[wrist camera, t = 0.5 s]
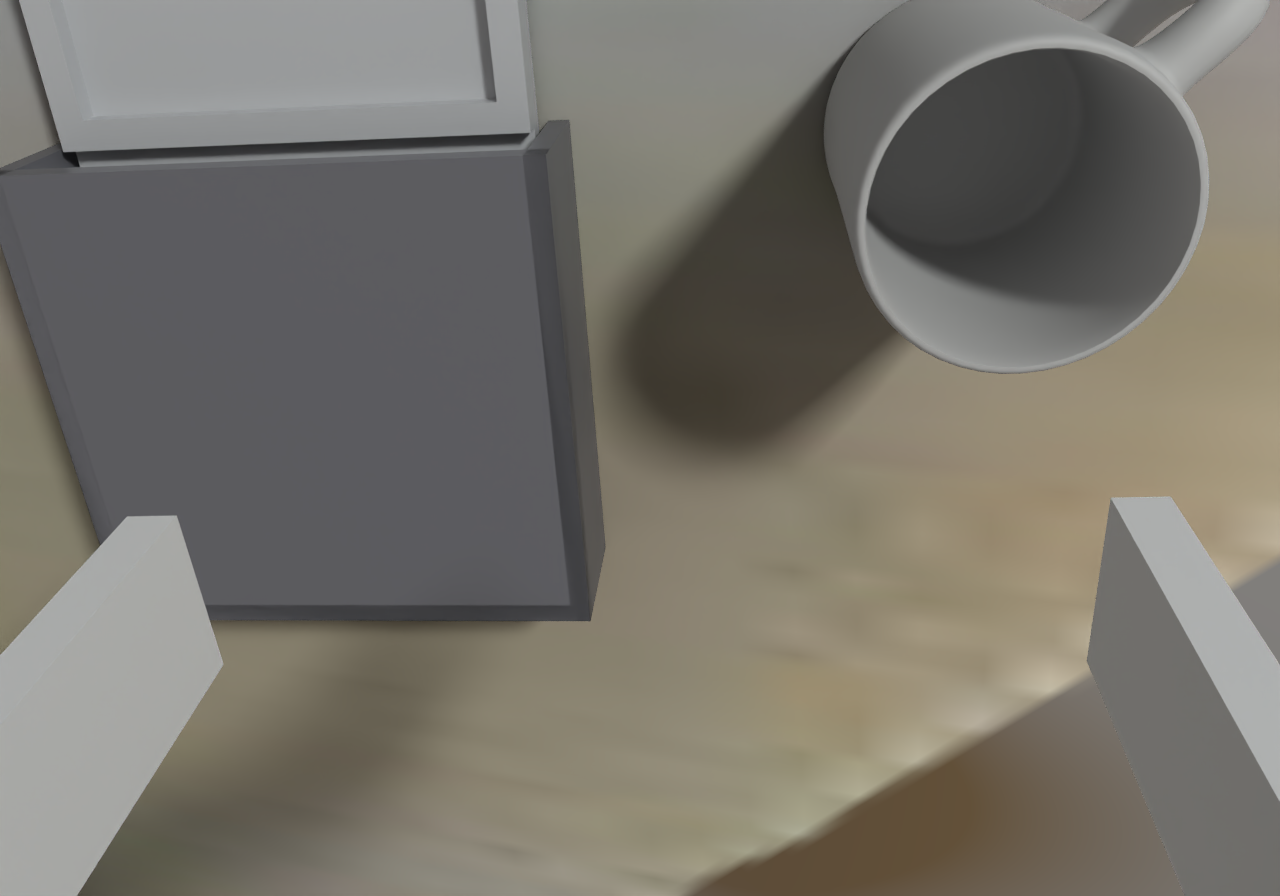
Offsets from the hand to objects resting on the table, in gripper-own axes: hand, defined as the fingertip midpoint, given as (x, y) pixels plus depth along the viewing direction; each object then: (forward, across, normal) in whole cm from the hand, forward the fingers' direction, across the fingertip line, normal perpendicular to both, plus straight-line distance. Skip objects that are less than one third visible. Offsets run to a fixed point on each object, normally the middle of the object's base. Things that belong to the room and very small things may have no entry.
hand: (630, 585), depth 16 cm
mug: (+25, +10, +2) cm, 27 cm away
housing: (+25, -13, -7) cm, 29 cm away
